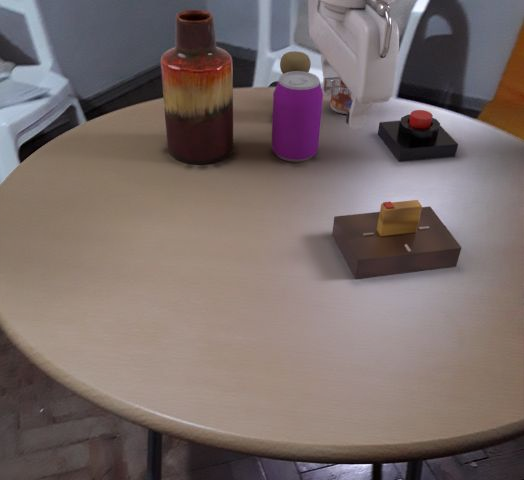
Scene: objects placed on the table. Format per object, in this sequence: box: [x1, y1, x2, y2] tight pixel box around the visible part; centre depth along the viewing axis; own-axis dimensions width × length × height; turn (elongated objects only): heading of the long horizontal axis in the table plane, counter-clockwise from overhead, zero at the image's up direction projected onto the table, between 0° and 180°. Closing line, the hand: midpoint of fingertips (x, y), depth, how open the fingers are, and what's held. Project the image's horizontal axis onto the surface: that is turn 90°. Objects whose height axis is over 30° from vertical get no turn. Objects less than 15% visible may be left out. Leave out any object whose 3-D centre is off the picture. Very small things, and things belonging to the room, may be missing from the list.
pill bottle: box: [329, 77, 353, 115], centre depth 113 cm, size 6×6×11 cm
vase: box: [159, 9, 234, 165], centre depth 97 cm, size 11×11×20 cm
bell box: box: [377, 114, 459, 163], centre depth 105 cm, size 10×10×4 cm
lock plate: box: [331, 206, 462, 280], centre depth 84 cm, size 14×10×3 cm
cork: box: [279, 51, 312, 74], centre depth 109 cm, size 6×6×11 cm
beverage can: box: [271, 71, 324, 163], centre depth 100 cm, size 8×8×12 cm
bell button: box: [409, 109, 434, 128], centre depth 104 cm, size 4×4×2 cm
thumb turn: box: [377, 199, 423, 236], centre depth 81 cm, size 5×2×4 cm, turn 103°
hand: (342, 109), depth 74 cm, fingers open, 8 cm apart
